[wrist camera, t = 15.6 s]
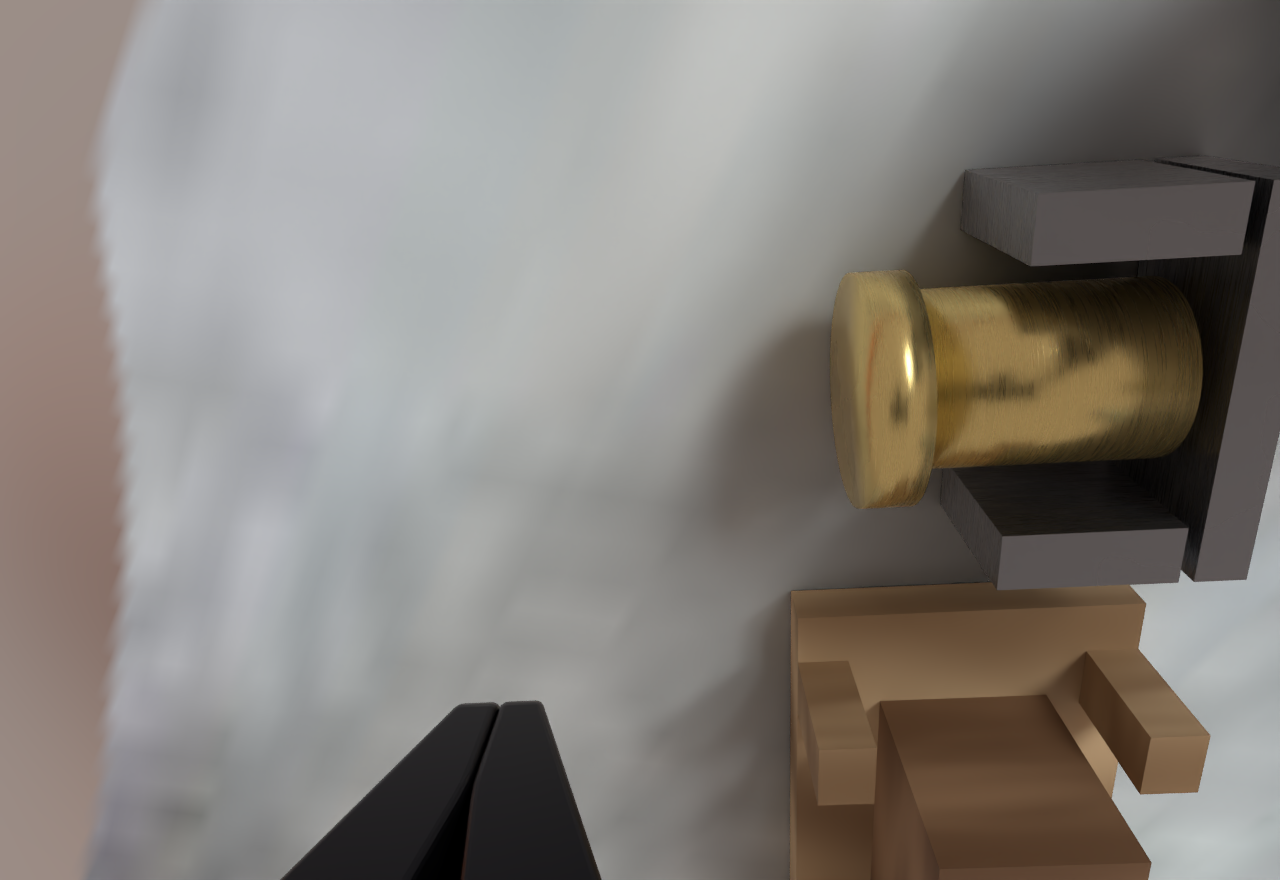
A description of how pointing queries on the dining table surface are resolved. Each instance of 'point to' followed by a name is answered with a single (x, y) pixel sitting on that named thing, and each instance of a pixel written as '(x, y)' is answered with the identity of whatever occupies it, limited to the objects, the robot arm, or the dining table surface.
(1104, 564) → the keeper
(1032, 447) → the brass bolt
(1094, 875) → the walnut bar
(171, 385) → the dining table surface
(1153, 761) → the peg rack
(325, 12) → the dining table surface
